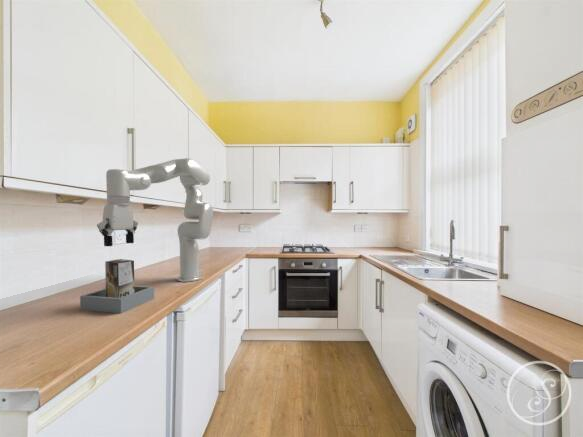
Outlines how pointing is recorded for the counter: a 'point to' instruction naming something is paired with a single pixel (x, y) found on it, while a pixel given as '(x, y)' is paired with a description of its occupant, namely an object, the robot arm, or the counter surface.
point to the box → (116, 300)
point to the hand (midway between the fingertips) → (119, 244)
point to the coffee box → (119, 278)
